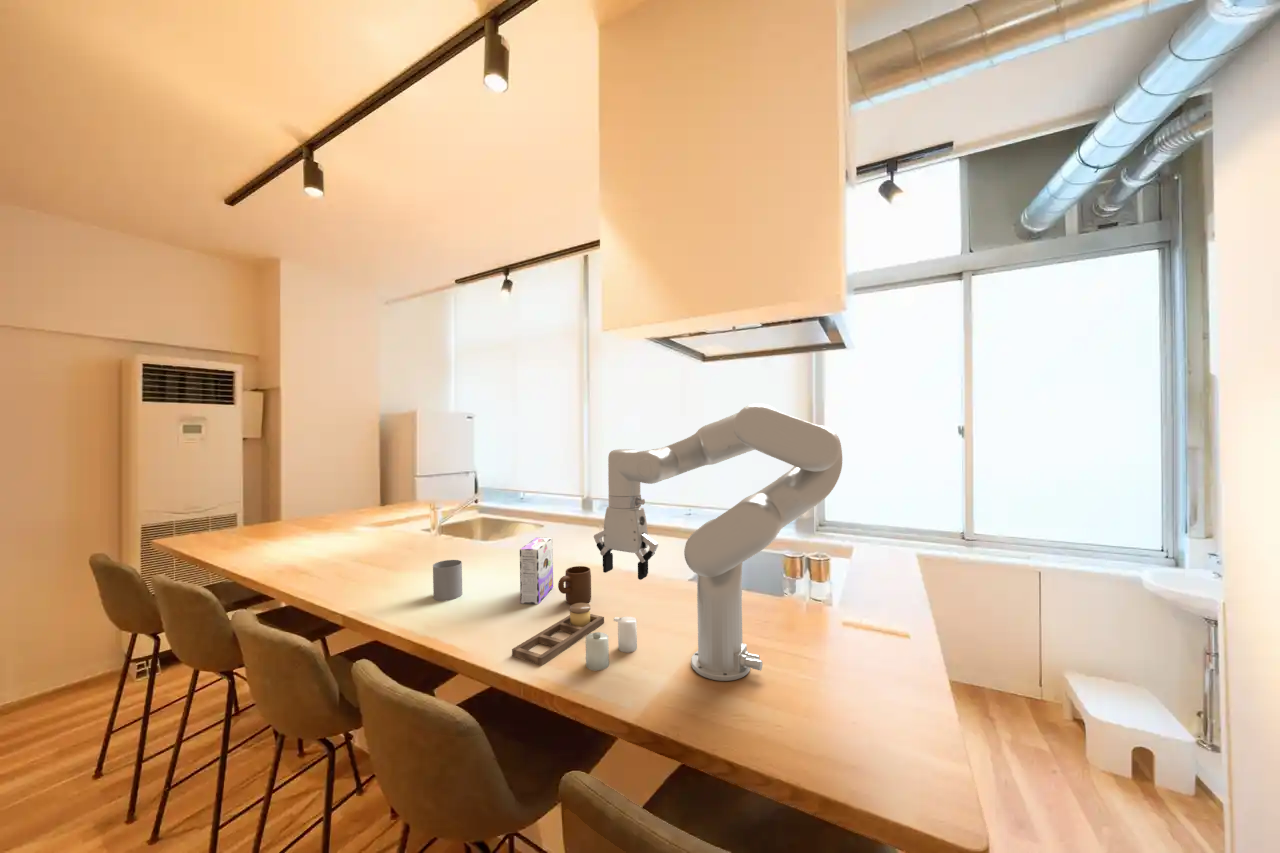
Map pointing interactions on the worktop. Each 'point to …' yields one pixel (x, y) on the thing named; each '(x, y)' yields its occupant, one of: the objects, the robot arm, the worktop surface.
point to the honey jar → (580, 614)
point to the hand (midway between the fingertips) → (624, 574)
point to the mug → (576, 585)
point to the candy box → (536, 570)
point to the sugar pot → (597, 651)
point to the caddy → (555, 639)
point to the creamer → (627, 634)
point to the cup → (447, 580)
